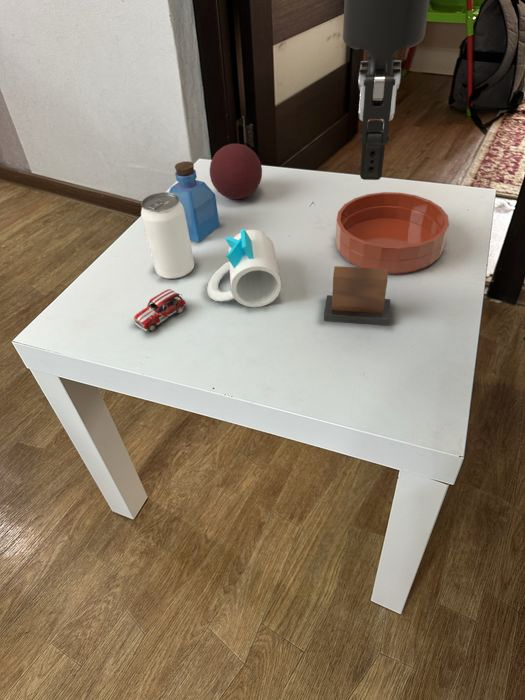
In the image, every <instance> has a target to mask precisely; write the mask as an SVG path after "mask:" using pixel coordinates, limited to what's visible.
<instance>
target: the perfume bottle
mask: <svg viewBox="0 0 525 700" xmlns="http://www.w3.org/2000/svg"><path fill="white" fill-rule="evenodd" d="M194 166H195V165H194V162H192V161H188V160H187V161H180V162H177V163H176V164H175V165H174V169H175V173H174V174H175V181H176V182H177V183H175V184H174V185H172V186H171V187H170V189H169V191H168V192H169V193H174V194H176V195H177V196H178V197H179V201H180V202H181V204H182V205H183V208H184V212H185V217H186V222H187V227H188V232H189V237H190V241H192V242H196V243H200V242H201V241H203V240H204V239H205V238H207V237H208V236H209V235H210V234H211V233H213V232H214V231H216V230H217V229H218V228H219V227H221V225H220V219H219V212H218V204H217V198H216V197H217V196H216V193H215V192H214V191H213V190H212V189H211V188H210V187H209V186H208V184H207V183H206V182H205V181H202V180H198V179H197V177H198V176H197V171H196V169H195V167H194Z"/></svg>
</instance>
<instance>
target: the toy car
mask: <svg viewBox="0 0 525 700" xmlns="http://www.w3.org/2000/svg"><path fill="white" fill-rule="evenodd" d="M182 296H183V294H180V293H178V292H176V291H175V290H173V289H171V288H169V289H166V290H163V291H162V292H160V293H158V294H157V295H155V296H153V297H152V298H150V299H149V301H148V303H147V304H146V307H145V308H143V309H142V310H140V311H138V312H137V313H136V314H135V315H134V317H133V319H134V325H136V326H137V327H138V328H139V329H141V330H144V331H146V332H147V331H148V333H151V332H156V331H155V330H156V326H160V325H161V324H162V323H163V322H165V320H167V319H168V318H170V317H171V316H173V315H175V314H177V315H180V314H182V313H183V312H184V307H185V306H187V302H186V300H185V299H184V298H183V297H182Z"/></svg>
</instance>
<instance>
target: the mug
mask: <svg viewBox="0 0 525 700" xmlns="http://www.w3.org/2000/svg"><path fill="white" fill-rule="evenodd" d="M224 240H225V241H226V243H227V244H228V250H227V251H228V252H227V254H226V258H227V261H226V262H225V263H223V264H222V265H221V266H220V267H219V268H218V269H216V270H215V272H214V273H213V275H212V276H210V279H209V281H208V283H207V288H206V292H207V296H208V297H209V298H210V299H211V300H213V301H214V302H222V303H223V302H229V301H231V300H236V302H237V303H239V304H241V305H242V306H245V307H250V308H261V307H263V306H268V305H269V304H271V303H272V302H274V301H275V300H276V299H277V297H278V296H279V295H280V293H281V290H282V281H281V277H280V271H279V266H278V265H279V264H278V260H277V255H276V249H275V246H274V243H273V240H272V239H271V238H270V237H269V236H268V235H267V234H266V233H264V232H263V231H261V230H257V229H245V228H242V229H241V230H240V232H239V233H237V234H236V235H235V236H234V237H232V236H227V237H225V238H224ZM227 273H229V281H230V282H229V283H230V290H228V291H222V290H220V289H219V285H220V282H221V280H222V279H223V277H224V276H225V275H226V274H227Z"/></svg>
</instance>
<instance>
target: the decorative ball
mask: <svg viewBox="0 0 525 700" xmlns="http://www.w3.org/2000/svg"><path fill="white" fill-rule="evenodd" d="M209 177H210V181H211V184H212V186H213V187H214V189H215V190H216V191H217V193H219V194H220V195H221V196H223V197H225V198H227V199H230V200H242V199H246V198H248V197H249V196H251V195H252V194H254V193H255V191H256V190H257V189H258V188H259V186H260V184H261V182H262V178H263V167H262V162H261V160H260V158H259V157H258V154H257V153H256V152H255V151H254V150H253V149H252V148H251V147H249V146H247V145H245V144H241V143H229V144H226V145H224V146H222V147H221V148H219V149H218V150H217V151H216V152H215V154H214V155H213V156H212V158H211V161H210V164H209Z"/></svg>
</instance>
